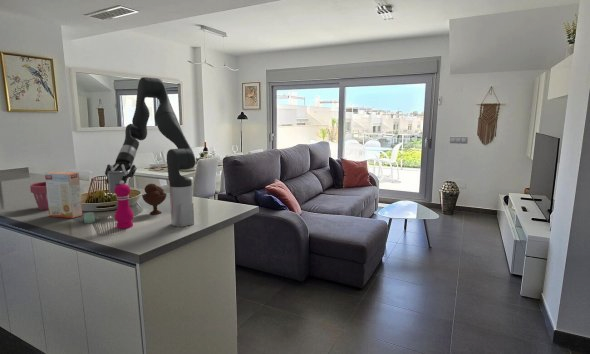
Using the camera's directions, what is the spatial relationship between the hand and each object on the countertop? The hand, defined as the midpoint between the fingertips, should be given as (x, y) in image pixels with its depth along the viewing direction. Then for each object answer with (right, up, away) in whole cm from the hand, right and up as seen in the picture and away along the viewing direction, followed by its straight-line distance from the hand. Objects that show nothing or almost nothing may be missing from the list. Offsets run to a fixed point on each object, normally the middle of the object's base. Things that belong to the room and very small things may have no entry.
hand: (115, 183), depth 162 cm
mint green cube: (-6, -17, -10) cm, 21 cm away
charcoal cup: (0, -4, +2) cm, 4 cm away
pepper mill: (+12, -19, -16) cm, 27 cm away
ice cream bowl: (+17, -15, +6) cm, 23 cm away
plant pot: (-42, -13, +15) cm, 46 cm away
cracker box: (-23, -16, 0) cm, 28 cm away
